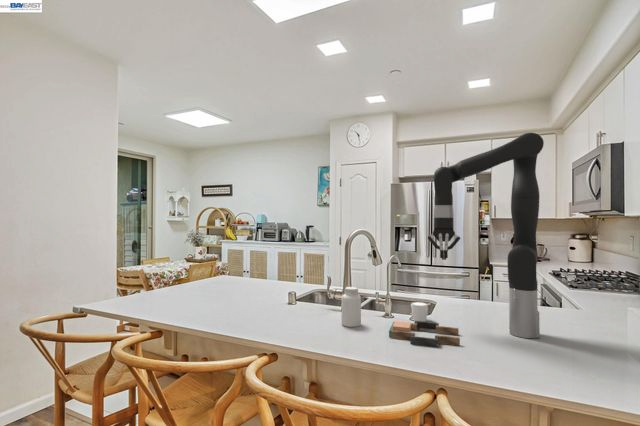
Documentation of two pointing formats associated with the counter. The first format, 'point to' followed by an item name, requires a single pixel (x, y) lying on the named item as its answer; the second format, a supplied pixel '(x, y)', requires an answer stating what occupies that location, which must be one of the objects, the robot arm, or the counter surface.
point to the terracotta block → (402, 326)
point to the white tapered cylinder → (419, 311)
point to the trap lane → (427, 327)
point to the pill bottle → (351, 307)
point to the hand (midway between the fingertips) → (443, 259)
